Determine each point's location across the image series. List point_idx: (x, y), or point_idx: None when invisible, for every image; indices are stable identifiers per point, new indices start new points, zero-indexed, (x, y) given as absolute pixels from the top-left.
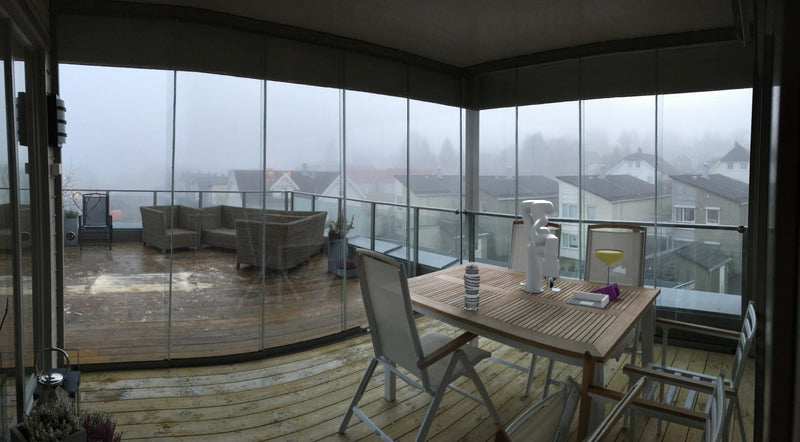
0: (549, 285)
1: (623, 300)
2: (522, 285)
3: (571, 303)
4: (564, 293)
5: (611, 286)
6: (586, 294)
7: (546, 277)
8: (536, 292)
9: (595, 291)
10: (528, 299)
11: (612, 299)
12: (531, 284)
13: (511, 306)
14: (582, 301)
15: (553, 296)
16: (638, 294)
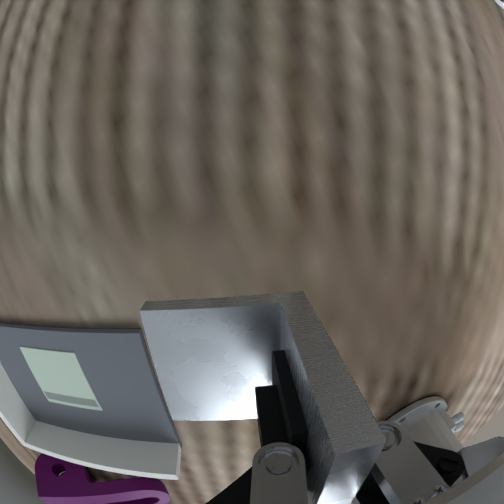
0: (299, 349)
1: None
2: (457, 417)
3: (106, 332)
4: None
5: (38, 492)
6: (103, 458)
7: (430, 477)
8: (393, 416)
9: (108, 489)
10: (424, 269)
11: None
12: (434, 435)
13: (437, 34)
14: (91, 399)
15: None
16: None
